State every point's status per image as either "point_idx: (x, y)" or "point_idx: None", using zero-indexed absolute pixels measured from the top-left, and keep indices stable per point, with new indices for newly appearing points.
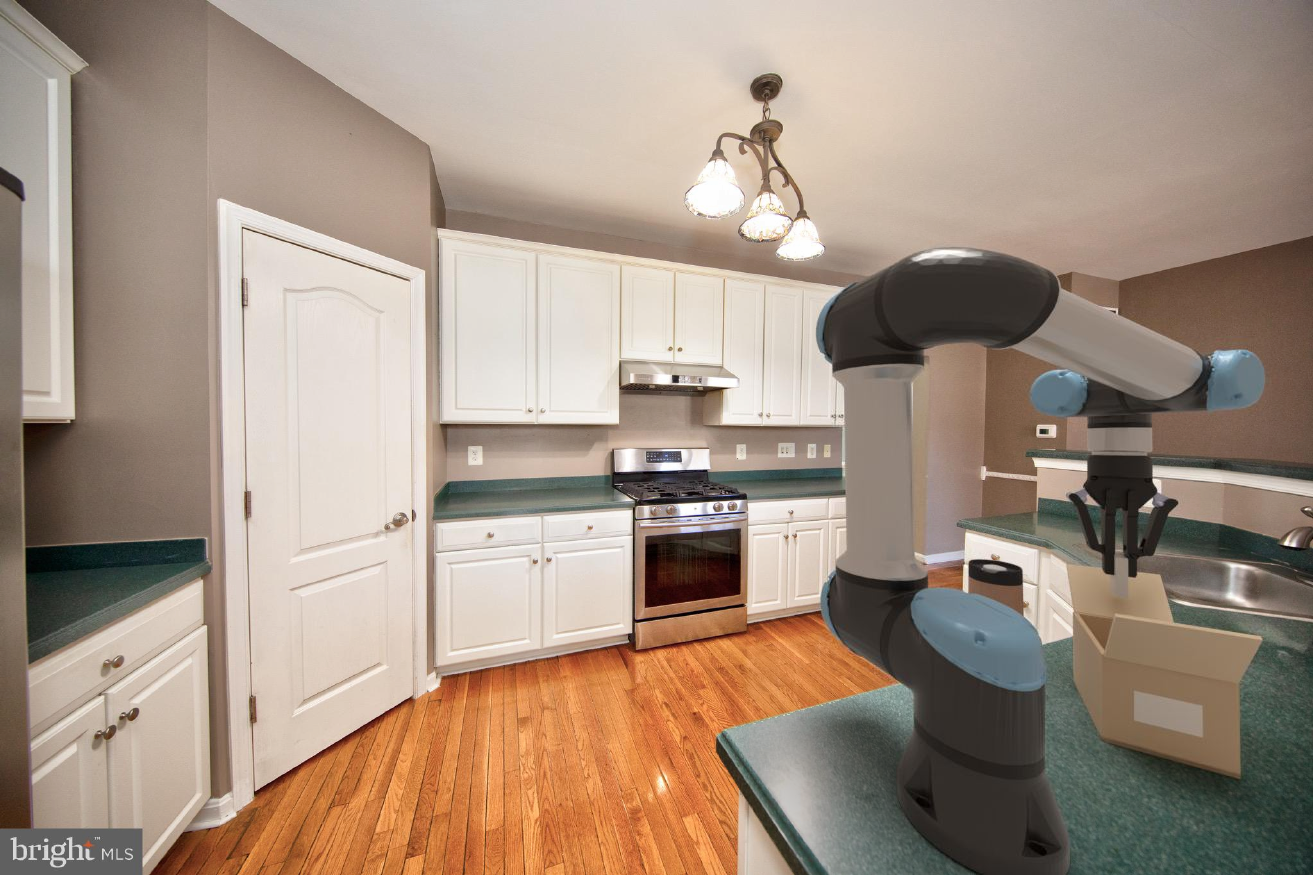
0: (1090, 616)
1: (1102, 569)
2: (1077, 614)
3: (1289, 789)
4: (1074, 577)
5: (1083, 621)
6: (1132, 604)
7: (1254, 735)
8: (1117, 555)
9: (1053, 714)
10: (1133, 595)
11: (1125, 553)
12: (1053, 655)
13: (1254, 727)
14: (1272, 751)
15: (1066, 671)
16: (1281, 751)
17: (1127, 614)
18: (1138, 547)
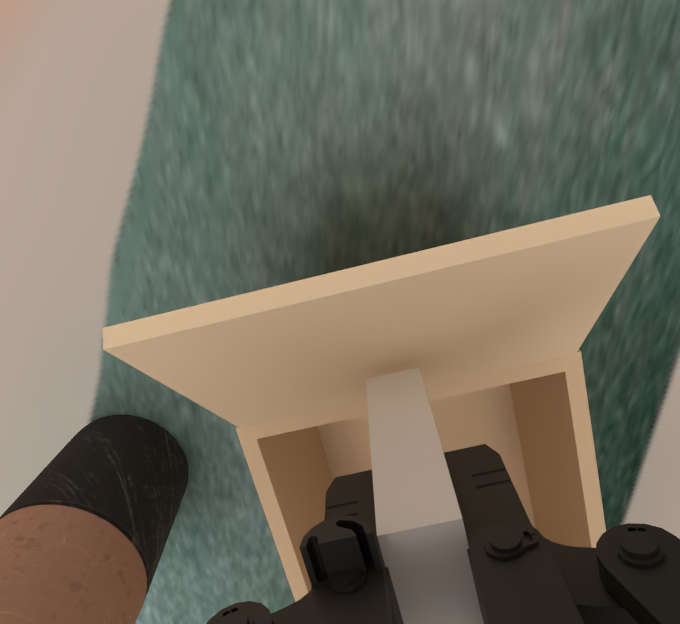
0: (297, 427)
1: (328, 495)
2: (255, 452)
3: (611, 516)
4: (186, 375)
5: (285, 530)
6: (449, 357)
7: (621, 313)
8: (424, 566)
9: (267, 540)
10: (462, 335)
11: (483, 614)
12: (193, 126)
13: (634, 260)
14: (632, 373)
15: (248, 249)
16: (649, 358)
17: (423, 378)
18: (605, 619)
